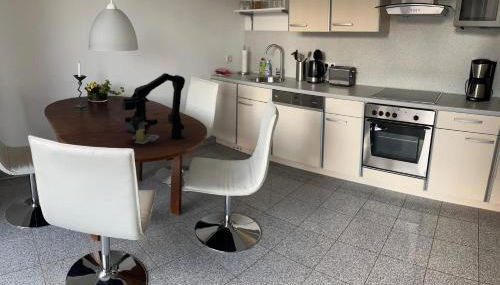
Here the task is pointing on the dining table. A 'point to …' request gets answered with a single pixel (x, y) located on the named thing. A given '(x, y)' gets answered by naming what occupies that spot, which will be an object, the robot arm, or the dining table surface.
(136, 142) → the pad
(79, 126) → the dining table surface
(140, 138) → the brown wooden block
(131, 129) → the flower pot
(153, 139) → the grey flat frame
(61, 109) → the dining table surface
